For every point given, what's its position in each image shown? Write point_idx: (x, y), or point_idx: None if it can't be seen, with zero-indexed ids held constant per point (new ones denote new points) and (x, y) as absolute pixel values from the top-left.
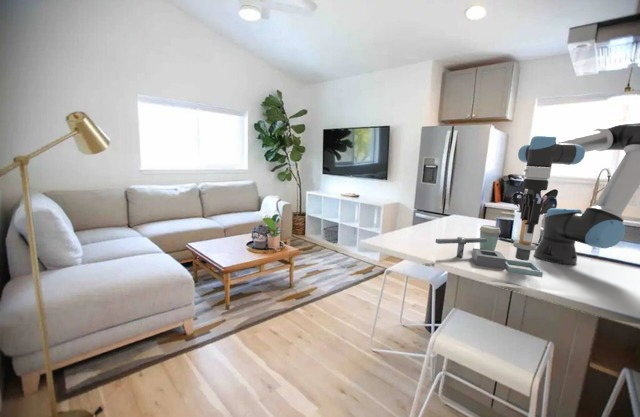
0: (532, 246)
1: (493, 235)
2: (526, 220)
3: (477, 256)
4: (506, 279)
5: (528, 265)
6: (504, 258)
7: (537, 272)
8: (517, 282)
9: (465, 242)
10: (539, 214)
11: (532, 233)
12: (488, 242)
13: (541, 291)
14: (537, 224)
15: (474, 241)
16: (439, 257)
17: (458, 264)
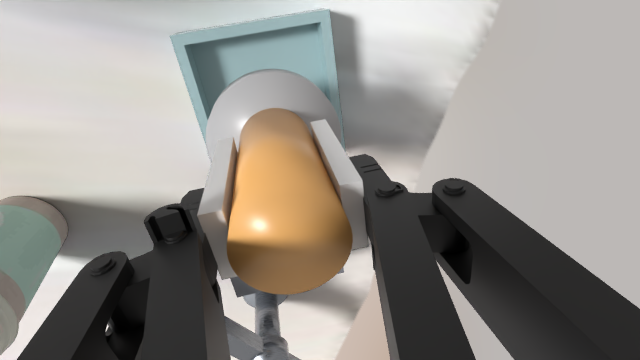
0: (326, 102)
1: (4, 281)
2: (283, 269)
3: (342, 268)
4: (410, 148)
5: (190, 53)
6: None
7: (330, 34)
8: (424, 115)
9: (278, 342)
10: (568, 261)
11: (367, 155)
12: (41, 262)
13: (483, 42)
14: (453, 179)
15: (227, 323)
16: (292, 333)
17: (332, 282)
